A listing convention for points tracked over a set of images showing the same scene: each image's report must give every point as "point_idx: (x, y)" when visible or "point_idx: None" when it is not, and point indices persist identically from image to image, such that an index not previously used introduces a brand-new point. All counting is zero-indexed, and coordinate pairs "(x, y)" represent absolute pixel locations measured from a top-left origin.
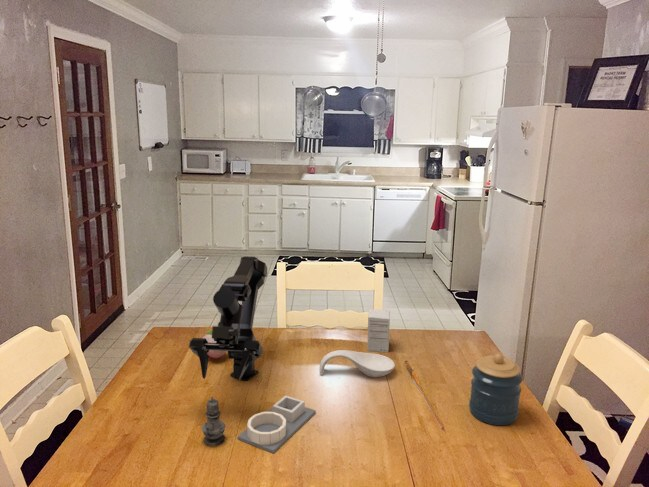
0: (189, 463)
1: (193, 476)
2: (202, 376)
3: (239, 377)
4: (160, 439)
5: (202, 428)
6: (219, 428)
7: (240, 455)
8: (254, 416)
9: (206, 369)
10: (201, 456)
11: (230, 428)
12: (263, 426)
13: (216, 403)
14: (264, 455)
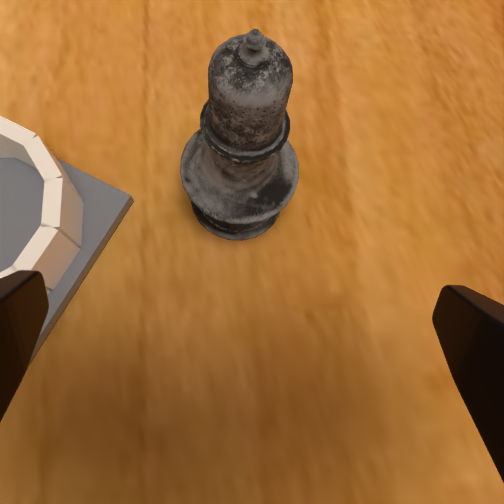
0: None
1: (255, 9)
2: (469, 289)
3: (5, 276)
4: (457, 189)
5: (291, 153)
6: (204, 142)
7: (106, 105)
8: (25, 259)
9: (491, 418)
10: None
11: (181, 279)
12: None
13: (217, 51)
14: (6, 107)
